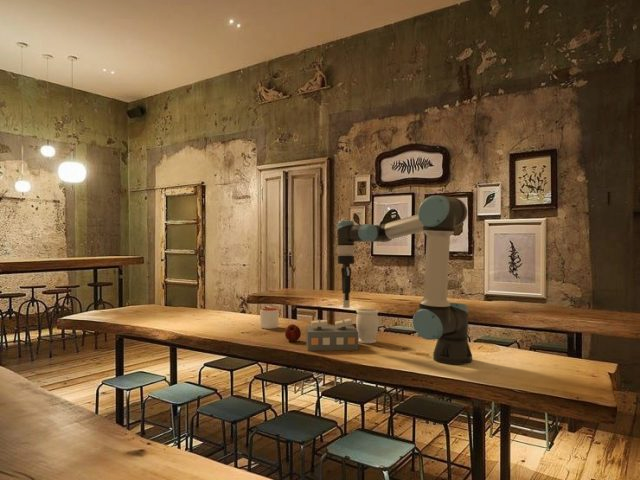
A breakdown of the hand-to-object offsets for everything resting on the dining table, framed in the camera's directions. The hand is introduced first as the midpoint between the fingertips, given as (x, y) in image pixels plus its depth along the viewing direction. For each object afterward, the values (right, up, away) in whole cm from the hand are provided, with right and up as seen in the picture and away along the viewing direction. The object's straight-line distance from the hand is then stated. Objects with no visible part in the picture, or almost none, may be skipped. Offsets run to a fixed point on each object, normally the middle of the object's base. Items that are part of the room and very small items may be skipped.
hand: (346, 307), depth 213 cm
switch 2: (-1, -7, 0) cm, 7 cm away
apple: (-25, -18, +11) cm, 33 cm away
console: (-7, -18, 0) cm, 19 cm away
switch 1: (-12, -7, -1) cm, 14 cm away
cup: (-40, -18, +46) cm, 64 cm away
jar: (+10, -18, +10) cm, 23 cm away
